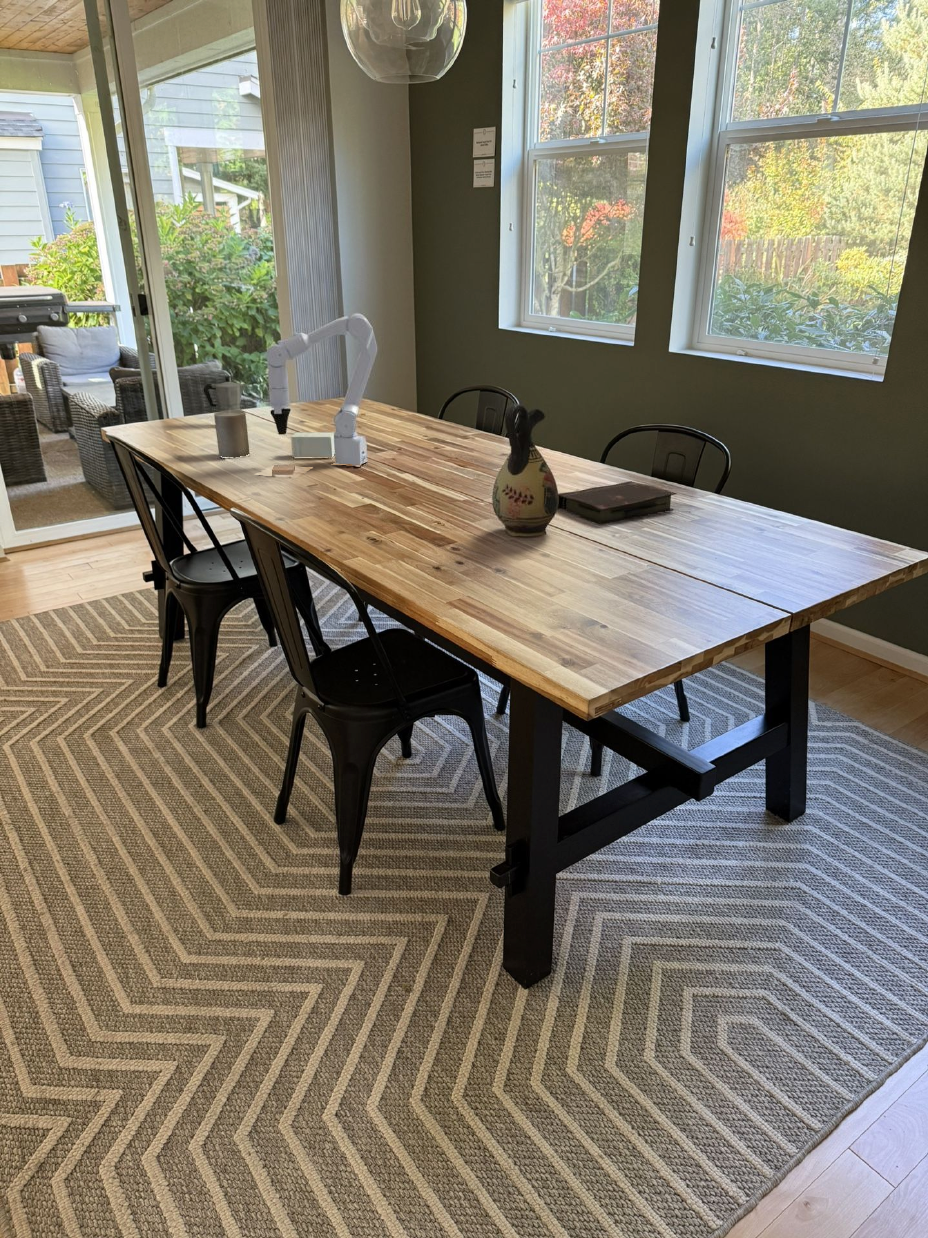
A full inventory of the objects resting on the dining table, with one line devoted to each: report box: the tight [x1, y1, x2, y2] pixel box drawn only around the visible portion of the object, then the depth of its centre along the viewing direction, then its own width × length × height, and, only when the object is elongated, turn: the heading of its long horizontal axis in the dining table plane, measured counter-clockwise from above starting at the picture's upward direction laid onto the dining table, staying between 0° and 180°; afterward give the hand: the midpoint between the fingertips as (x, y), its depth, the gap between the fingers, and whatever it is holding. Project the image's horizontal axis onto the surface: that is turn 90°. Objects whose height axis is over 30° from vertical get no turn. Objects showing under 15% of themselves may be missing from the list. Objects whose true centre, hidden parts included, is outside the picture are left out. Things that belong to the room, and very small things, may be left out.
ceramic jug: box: [491, 403, 559, 537], centre depth 202 cm, size 17×15×30 cm
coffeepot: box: [202, 376, 248, 412], centre depth 324 cm, size 15×9×18 cm, turn 103°
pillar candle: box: [213, 410, 251, 457], centre depth 279 cm, size 10×10×15 cm
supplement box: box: [290, 432, 335, 458], centre depth 279 cm, size 7×7×13 cm
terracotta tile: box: [272, 464, 296, 476], centre depth 259 cm, size 2×6×6 cm
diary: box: [557, 480, 678, 525], centre depth 226 cm, size 19×25×5 cm
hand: (282, 433), depth 265 cm, fingers closed
